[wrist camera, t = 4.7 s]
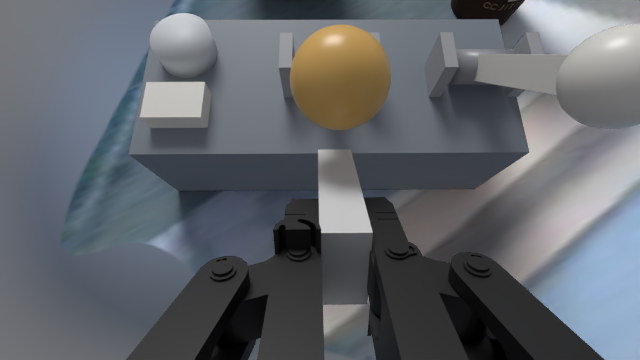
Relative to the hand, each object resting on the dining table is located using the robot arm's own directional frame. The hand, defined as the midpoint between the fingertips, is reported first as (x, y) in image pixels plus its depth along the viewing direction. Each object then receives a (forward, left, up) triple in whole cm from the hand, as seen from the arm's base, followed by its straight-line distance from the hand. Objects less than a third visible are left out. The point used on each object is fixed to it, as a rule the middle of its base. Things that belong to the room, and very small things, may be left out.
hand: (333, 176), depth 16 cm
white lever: (0, -14, -4) cm, 15 cm away
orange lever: (+7, -7, -4) cm, 11 cm away
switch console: (+6, -6, -13) cm, 16 cm away
